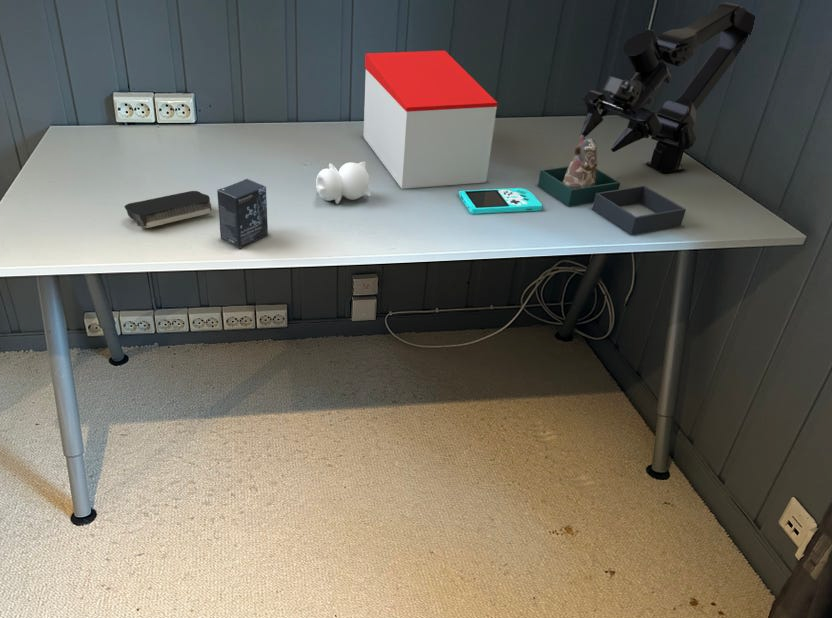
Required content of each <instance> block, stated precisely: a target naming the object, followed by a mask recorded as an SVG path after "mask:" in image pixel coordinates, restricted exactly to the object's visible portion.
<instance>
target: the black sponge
mask: <svg viewBox="0 0 832 618" xmlns="http://www.w3.org/2000/svg"><path fill="white" fill-rule="evenodd" d="M123 207H124V209H125V210H126V214H127V216H128V217H129V218H130V219H131V220H133V221H135V222H136V224H137V225H138V226H140V227H142V228H147V229H148V228H152V227H153V228H154V227H157V226H162V225H166V224H170V223H175V222H178V221H179V222H180V221H183V220H187V219H191V218H195V217H200V216H204V215H208V214H209V213H210V212H211V211H212V210H213V209H212V204H211V199H210V196H209V195H208V194H205V193H202V192H200V191H198V190H189V191H185V192H179V193H174V194H170V195H165V196H160V197H155V198H150V199H146V200H141V201H135V202H130V203H127V204H126V205H124V206H123Z"/></svg>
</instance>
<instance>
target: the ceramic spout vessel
mask: <svg viewBox="0 0 832 618" xmlns="http://www.w3.org/2000/svg"><path fill="white" fill-rule="evenodd" d="M578 140H579V144H577V145H575V148H574V155H573V158H572V159H571V161H570V163H569V164H568V166H569V167H568V169H567V171H566V174H565V177H564V180H563V184H565V185H567V186H568V187H570V188H571V189H576V188H583V187H589V186H595V179H596V172H597V169H598V164H599V160H597V158H598V157H597V156H598V144H597V143H596V141H595V140H594V139H593V138H586V137H584V135H581V136H580V135H579V137H578Z"/></svg>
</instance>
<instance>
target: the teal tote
mask: <svg viewBox="0 0 832 618" xmlns="http://www.w3.org/2000/svg"><path fill="white" fill-rule="evenodd" d="M568 167H569V165H566V166H561V167H551V168H547V169H540V171H539V177H538V183H537V187H539V188H540V189H542V190H543V191H545V192H546V193H547V194H549V195H551V196H552V197H554V198H555V199H557V200H558V201H559V202H561V203H562V204H564V205H565V206H567V207H574V206H580V205H585V204H586V205H587V204H593V203H594V198H595V194H596V193H600V192H607V191H613V190H619V189H620V186H621V181H618V180H617V179H616V178H613V177H612V176H610V175H608V174H606V173H605V172H603V171H601V170H600V169H598V168H597V172H596V179H595V186H589V187H583V188H576V189H571V188H570V187H568V186H567V185H565V184H563V180H564V177H565V174H566V171H567V169H568Z"/></svg>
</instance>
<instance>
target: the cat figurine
mask: <svg viewBox="0 0 832 618" xmlns="http://www.w3.org/2000/svg"><path fill="white" fill-rule="evenodd" d="M328 167H329V168H328ZM328 167H327V168H323V169H321V170H320V171H319V172H318V174H317V175H316V179H315V189H316V190H317V194H318V195H319V196H320V197H321V198H322V199H323V200H325V201H334V202H335V204H336V205H338V204H339V203H340V202H341V200H342V196H343V197H344V198H345V199H347V200H351V201H353V200H358V199H360V198H362V197H368V198H369V197H371V196H372V193H371V190H370V176H369V173H368V171H367V168H366V161H364V160H363V161H361V162H359V163H357V162H352V161H351V162H346V163H344V164H342V166H341V167H339V170H338V169H337V168H336V166H334V164H333V163H328Z"/></svg>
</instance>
